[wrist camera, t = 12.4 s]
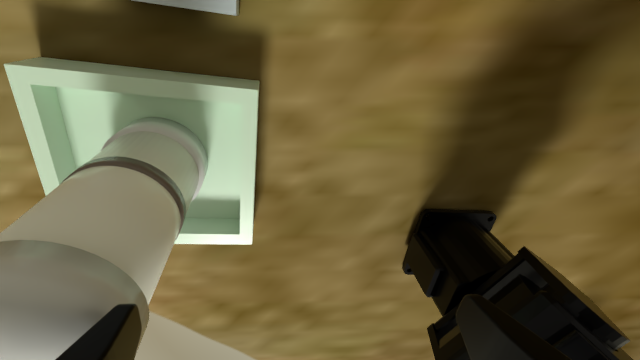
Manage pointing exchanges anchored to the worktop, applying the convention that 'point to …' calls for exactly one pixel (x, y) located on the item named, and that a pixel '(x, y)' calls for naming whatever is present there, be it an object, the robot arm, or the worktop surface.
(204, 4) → the rectangular open frame
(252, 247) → the worktop surface
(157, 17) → the worktop surface
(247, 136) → the parts tray
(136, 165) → the mushroom-shaped knob
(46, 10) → the worktop surface
